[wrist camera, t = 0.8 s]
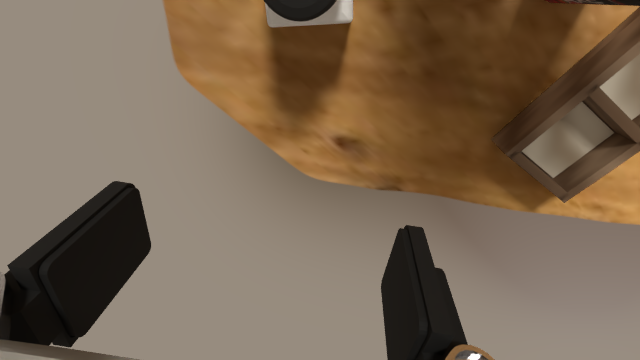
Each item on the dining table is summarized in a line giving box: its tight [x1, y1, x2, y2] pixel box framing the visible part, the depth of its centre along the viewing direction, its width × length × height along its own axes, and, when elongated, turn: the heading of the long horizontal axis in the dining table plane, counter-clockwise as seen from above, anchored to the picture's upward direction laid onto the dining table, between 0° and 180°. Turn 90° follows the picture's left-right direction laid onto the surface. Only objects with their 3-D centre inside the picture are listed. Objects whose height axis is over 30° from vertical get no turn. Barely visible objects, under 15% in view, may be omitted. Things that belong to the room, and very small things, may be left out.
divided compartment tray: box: [491, 7, 640, 203], centre depth 32 cm, size 18×10×4 cm, turn 144°
